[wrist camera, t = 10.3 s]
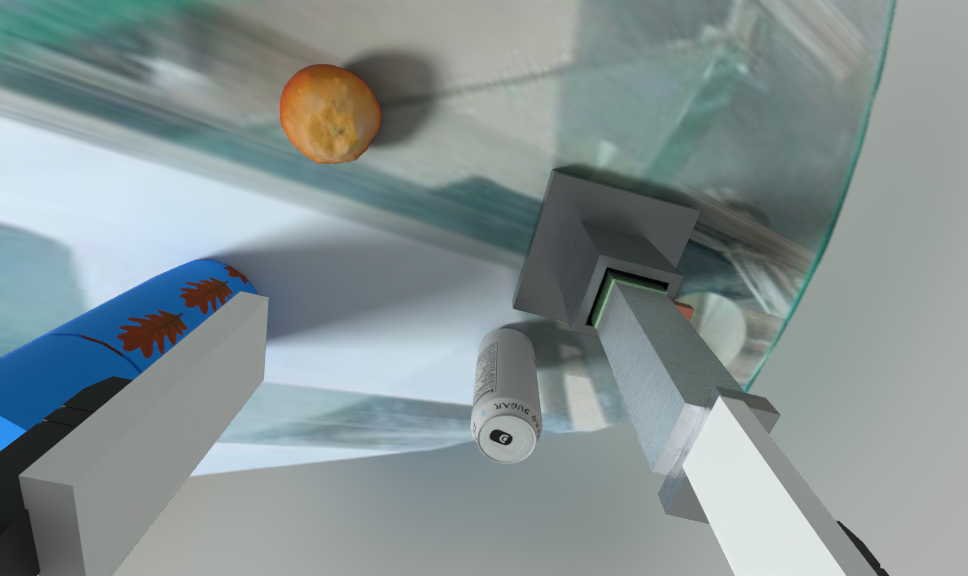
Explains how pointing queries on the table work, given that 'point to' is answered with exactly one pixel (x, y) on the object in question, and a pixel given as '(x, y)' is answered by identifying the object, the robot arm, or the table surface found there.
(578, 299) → the stand base
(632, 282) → the column
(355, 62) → the table surface
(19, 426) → the thermos
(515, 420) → the energy drink can
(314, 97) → the fruit
